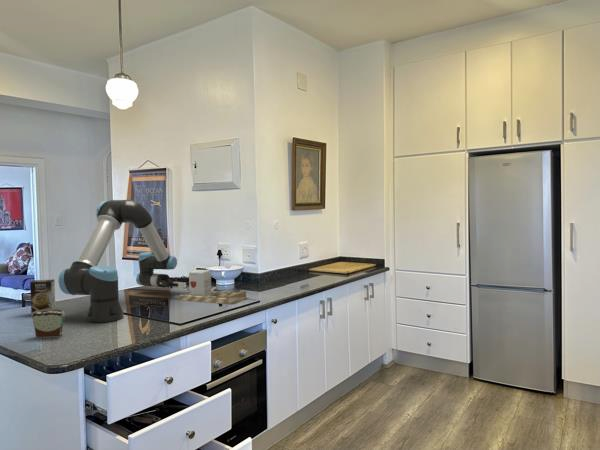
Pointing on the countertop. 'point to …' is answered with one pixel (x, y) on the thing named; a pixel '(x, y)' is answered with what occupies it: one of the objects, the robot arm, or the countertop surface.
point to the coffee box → (42, 295)
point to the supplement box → (200, 283)
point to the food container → (48, 322)
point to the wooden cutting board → (229, 295)
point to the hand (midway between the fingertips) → (191, 283)
